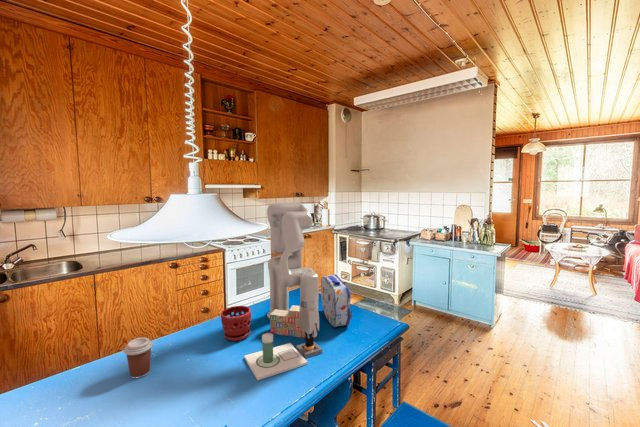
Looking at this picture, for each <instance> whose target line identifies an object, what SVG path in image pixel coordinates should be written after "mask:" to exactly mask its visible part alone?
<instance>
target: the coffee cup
mask: <svg viewBox="0 0 640 427" xmlns="http://www.w3.org/2000/svg"><path fill="white" fill-rule="evenodd" d="M153 343H154V342H152V341H151V340H150V339H149V338H148V337H143V336H142V337H138V338H134V339H131V340H130V341H129V342H127V343H126V346H125V347H124V349H123V353H124V355H126V359H127V366H128V372H129V377H130V376H131V377H134V378H136V377H142V376H144V375H146V374H147V373H149V374H150V372H151V358H152V357H151V354H152V353H151V352H152V348H153V346H154V344H153ZM149 371H150V372H149ZM147 375H148V374H147ZM147 375H146V376H147ZM131 377H130V378H131ZM144 377H145V376H144ZM142 378H143V377H142Z"/></svg>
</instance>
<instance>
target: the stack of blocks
mask: <svg viewBox="0 0 640 427" xmlns="http://www.w3.org/2000/svg"><path fill="white" fill-rule="evenodd" d="M299 309H300V305H293V304H292V305H291V307H290V308H289V311H285V310H277V309H275V310H274V311H273V312H272V313H271V314H270V319H269V328H270V329H269V331H270V332H269V333H271V334H273V335H279V336H280V335H281V336H287V337H288V336H289V337H296V338H302V339H305V334H304V330H303V329H302V328H301V327H300V326H299ZM315 338H316V337H314V339H315Z"/></svg>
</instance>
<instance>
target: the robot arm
mask: <svg viewBox="0 0 640 427" xmlns="http://www.w3.org/2000/svg"><path fill="white" fill-rule="evenodd" d="M266 216H267V221H268V224H269V228H270V231H269V232H270V251H271V253H272V254H274V255H279V256H273V257H271V258H270V259H269V260H268V261H267V270H268V276H269V310H270V311H268V312H267V314H266V316H267V317H266V318H267V319H268V320H270V314H271V313H272V312H273V311H274V310H275V309H277V310H285V311H289V309H290V308H289V304H290V302H289V300H290V299H289V298H290V296H289V288H297V287H299V295H300V296H299V302H300V304H299V306H300V309H299V326H300V327H301V328H302V329H303V330H304V334H305V338H304V343H305V346H306V347H310V346H313V345H314V342H315V338H317V336H318V332H319V331H320V316H319V315H320V314H319V303H320V302H319V296H320V294H319V293H320V292H319V286H320V285H319V283H320V282H319V281H320V279H319V278H320V277H319V275H318V273H316V272H315V271H314V269H313V268H311V267H309V266H308V267H307V266H306V267H302V265H303V262H302V260H303V258H302V257H303V247H304V246H305V245H306V241H305V238H304V233H303V230H309V229H310V230H311V228H312V227H313V223H314V222H313V217H312V214H311V212H310V211H309V209H308V208H306V207H305V205H303V203H300V202H274V203H271V204H269V205H268V206H267V209H266ZM314 337H315V338H314Z"/></svg>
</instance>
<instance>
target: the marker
mask: <svg viewBox="0 0 640 427" xmlns="http://www.w3.org/2000/svg"><path fill="white" fill-rule="evenodd" d="M261 342H262V346H261V347H262V351H263V362H264V363H271V362H273V348H274V333H270V332H266V333H263V334H262V335H261Z"/></svg>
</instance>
